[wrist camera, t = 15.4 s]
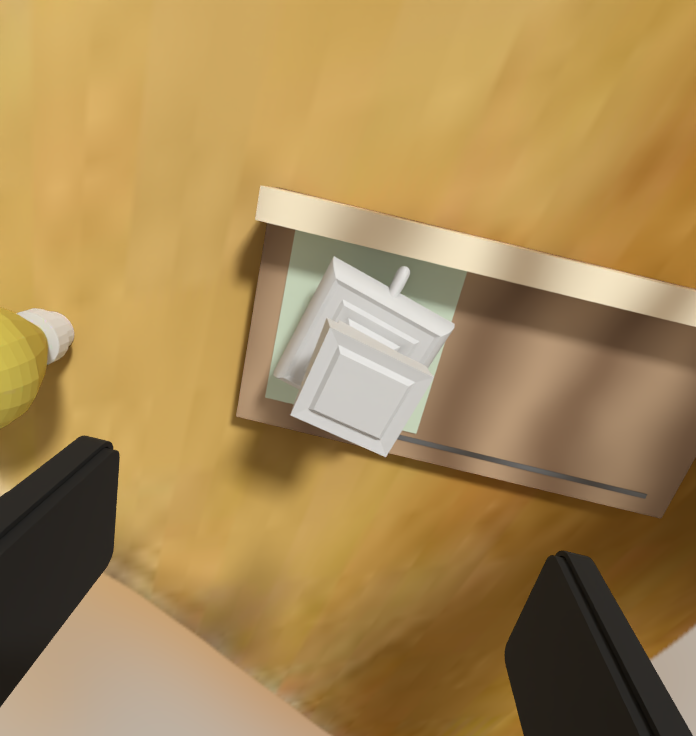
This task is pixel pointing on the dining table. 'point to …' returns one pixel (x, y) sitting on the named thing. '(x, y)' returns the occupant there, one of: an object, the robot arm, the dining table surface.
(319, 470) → the dining table surface
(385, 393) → the stamp
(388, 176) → the dining table surface
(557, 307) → the brown piece
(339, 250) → the end mark
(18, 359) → the light bulb
